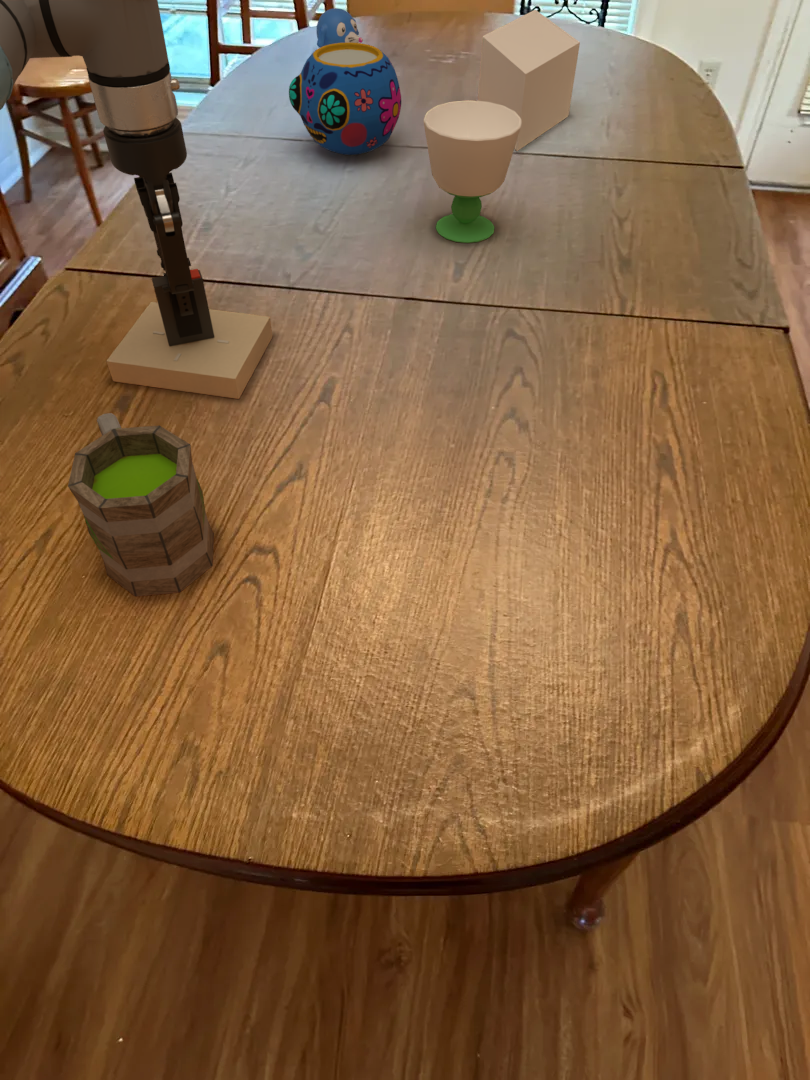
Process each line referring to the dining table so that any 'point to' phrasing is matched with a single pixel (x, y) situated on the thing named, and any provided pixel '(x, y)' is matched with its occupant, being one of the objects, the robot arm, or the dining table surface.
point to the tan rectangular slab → (192, 354)
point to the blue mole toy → (337, 28)
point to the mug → (143, 507)
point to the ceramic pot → (347, 97)
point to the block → (529, 72)
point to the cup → (469, 160)
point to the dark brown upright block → (168, 313)
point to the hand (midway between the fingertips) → (188, 327)
